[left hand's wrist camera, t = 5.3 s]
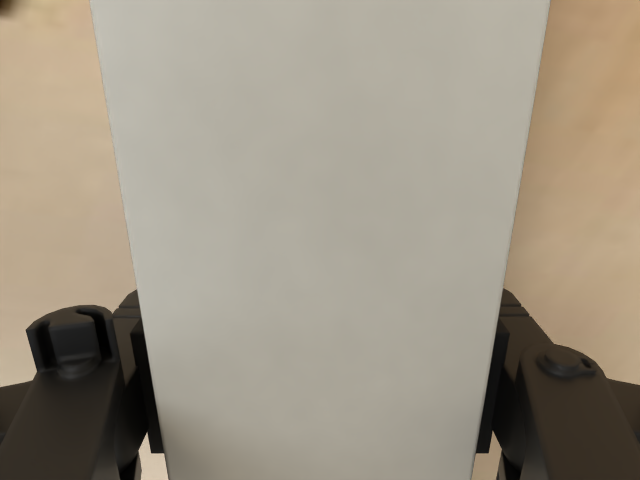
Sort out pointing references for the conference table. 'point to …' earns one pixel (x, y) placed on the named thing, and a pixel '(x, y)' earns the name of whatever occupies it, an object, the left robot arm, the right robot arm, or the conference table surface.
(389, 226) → the bar
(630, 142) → the conference table surface
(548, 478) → the left robot arm
